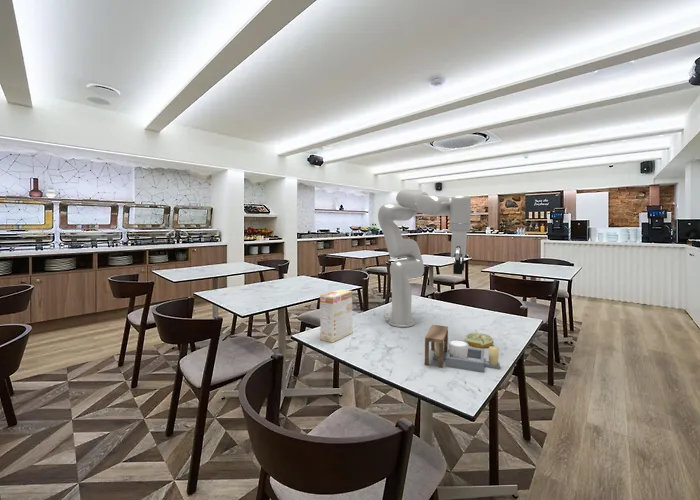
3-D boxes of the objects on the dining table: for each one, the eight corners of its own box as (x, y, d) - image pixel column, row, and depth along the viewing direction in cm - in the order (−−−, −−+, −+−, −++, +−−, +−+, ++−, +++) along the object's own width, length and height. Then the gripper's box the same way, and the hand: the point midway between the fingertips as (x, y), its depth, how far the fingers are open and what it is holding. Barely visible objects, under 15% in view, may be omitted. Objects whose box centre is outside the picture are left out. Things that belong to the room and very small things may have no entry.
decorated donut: (460, 345, 132) (460, 336, 132) (472, 338, 140) (472, 329, 139) (486, 352, 125) (486, 342, 124) (497, 344, 132) (497, 335, 132)
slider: (431, 363, 113) (431, 345, 113) (436, 351, 124) (436, 334, 124) (500, 374, 105) (501, 355, 104) (499, 360, 116) (499, 342, 115)
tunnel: (424, 366, 112) (425, 337, 112) (431, 350, 126) (431, 324, 126) (442, 369, 110) (443, 339, 109) (447, 352, 124) (448, 326, 123)
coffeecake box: (340, 330, 151) (340, 288, 149) (353, 333, 147) (353, 290, 145) (319, 339, 139) (319, 294, 137) (332, 343, 135) (332, 297, 133)
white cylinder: (459, 368, 111) (459, 348, 110) (443, 360, 117) (444, 342, 116) (472, 363, 115) (472, 344, 114) (456, 356, 120) (457, 338, 120)
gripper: (451, 227, 134) (451, 268, 136) (447, 228, 118) (446, 275, 120) (471, 227, 131) (470, 269, 133) (468, 228, 115) (467, 276, 117)
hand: (458, 272), depth 126 cm, fingers open, 9 cm apart
